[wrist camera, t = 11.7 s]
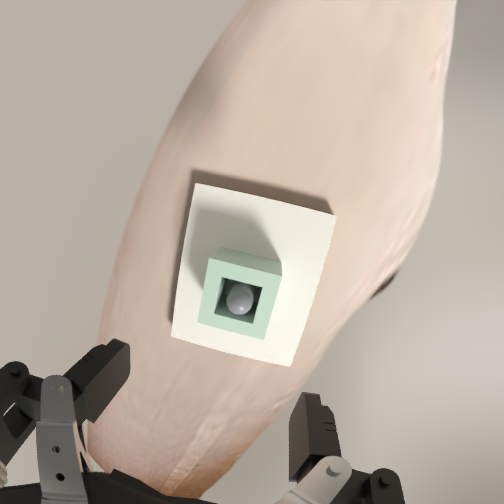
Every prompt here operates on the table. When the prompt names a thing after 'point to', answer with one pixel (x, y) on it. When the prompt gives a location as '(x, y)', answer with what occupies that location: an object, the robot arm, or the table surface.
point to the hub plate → (260, 244)
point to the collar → (246, 271)
